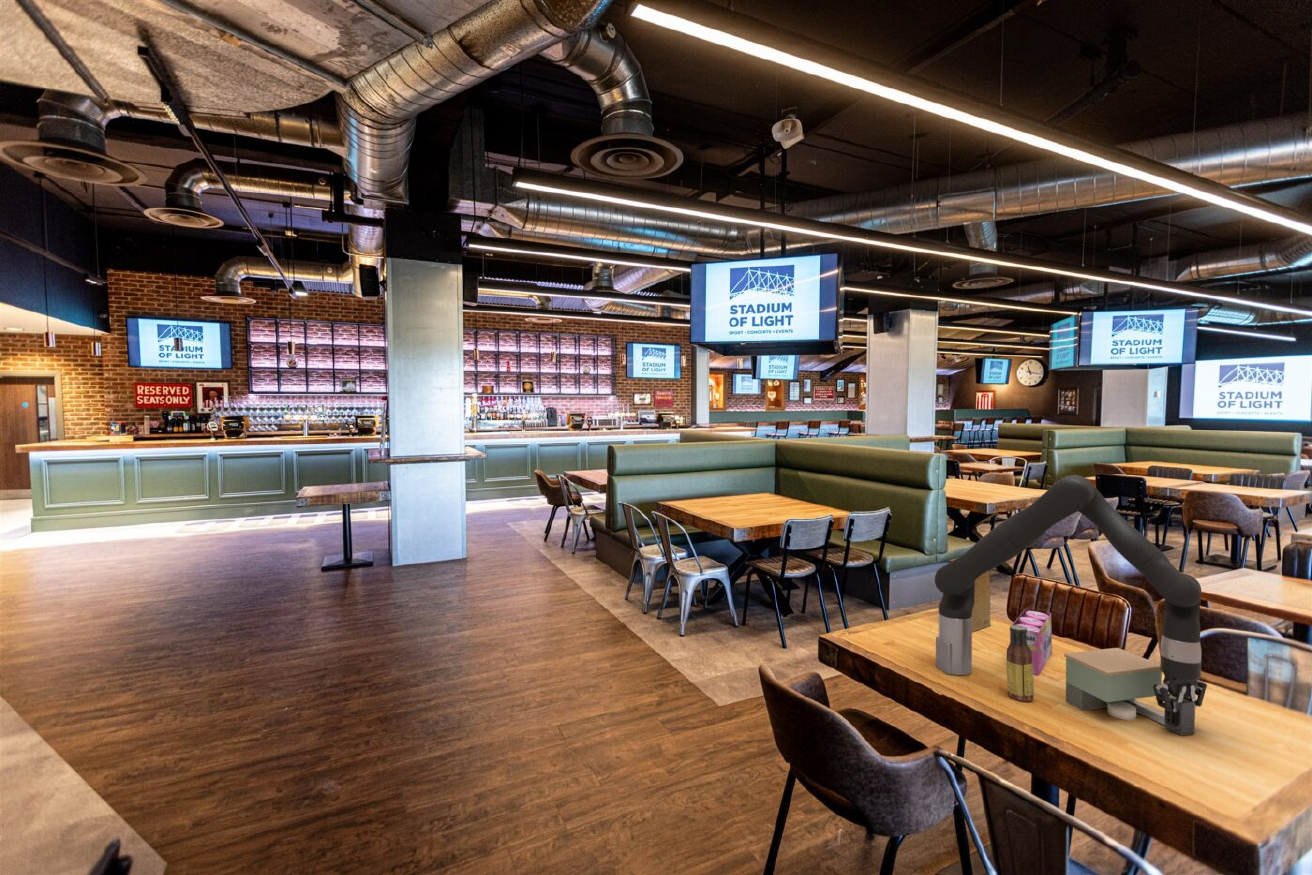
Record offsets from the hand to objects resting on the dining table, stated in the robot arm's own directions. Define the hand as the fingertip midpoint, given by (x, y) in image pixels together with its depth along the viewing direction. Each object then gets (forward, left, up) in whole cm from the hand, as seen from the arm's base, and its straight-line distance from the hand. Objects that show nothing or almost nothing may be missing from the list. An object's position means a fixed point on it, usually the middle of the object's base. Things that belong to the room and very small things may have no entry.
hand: (1179, 723), depth 147 cm
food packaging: (+2, +76, -2) cm, 76 cm away
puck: (-6, +10, -2) cm, 12 cm away
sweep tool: (0, +5, -2) cm, 6 cm away
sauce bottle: (-24, +24, -2) cm, 34 cm away
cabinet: (-5, +13, -2) cm, 14 cm away
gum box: (-1, +44, -2) cm, 44 cm away
